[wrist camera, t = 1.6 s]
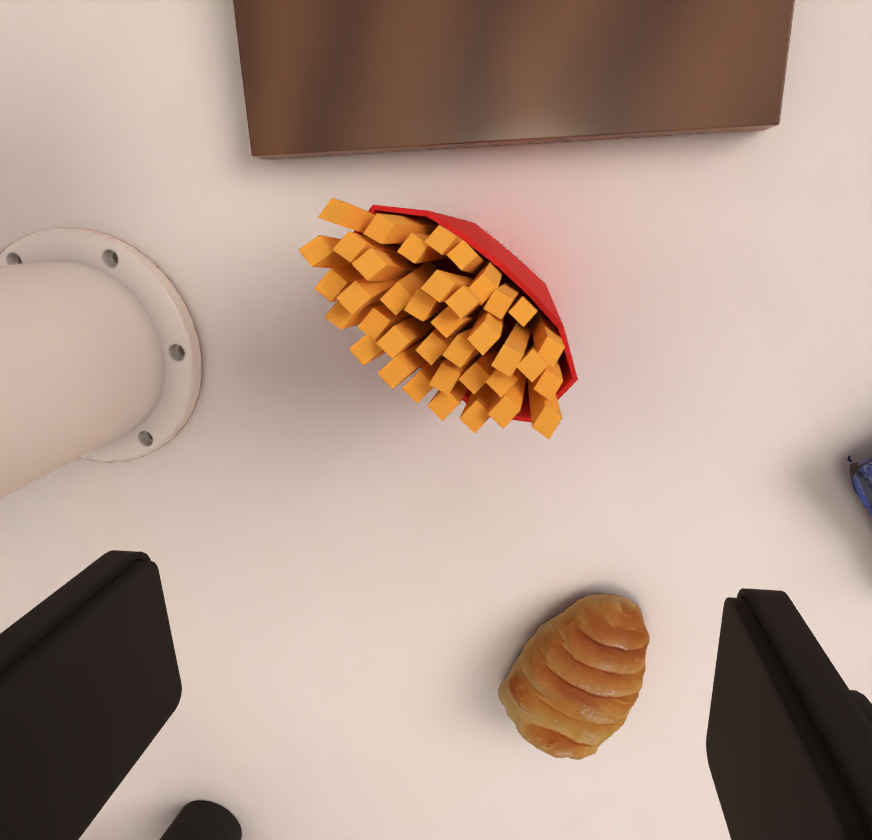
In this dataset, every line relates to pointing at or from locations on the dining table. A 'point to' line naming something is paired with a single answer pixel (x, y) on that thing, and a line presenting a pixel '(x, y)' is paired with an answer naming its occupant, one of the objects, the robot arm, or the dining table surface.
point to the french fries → (446, 313)
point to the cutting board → (504, 71)
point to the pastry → (578, 676)
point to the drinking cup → (203, 823)
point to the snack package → (862, 481)
